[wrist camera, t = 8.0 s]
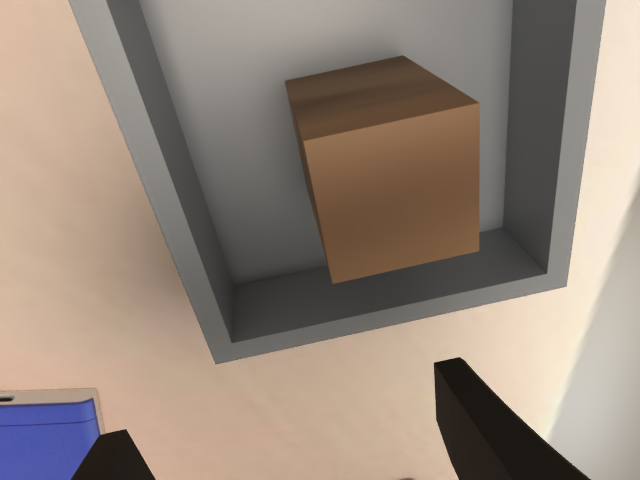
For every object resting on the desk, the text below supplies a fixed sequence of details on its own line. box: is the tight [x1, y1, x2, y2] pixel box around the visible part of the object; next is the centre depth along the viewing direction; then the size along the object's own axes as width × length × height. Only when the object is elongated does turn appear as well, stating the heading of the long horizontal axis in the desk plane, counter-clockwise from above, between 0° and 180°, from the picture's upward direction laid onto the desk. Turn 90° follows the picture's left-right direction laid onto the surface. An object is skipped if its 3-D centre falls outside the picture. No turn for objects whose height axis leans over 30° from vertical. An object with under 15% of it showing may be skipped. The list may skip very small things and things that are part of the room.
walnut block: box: [285, 55, 480, 284], centre depth 14 cm, size 4×4×6 cm
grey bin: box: [68, 0, 606, 364], centre depth 15 cm, size 13×13×4 cm
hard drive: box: [0, 388, 105, 480], centre depth 24 cm, size 2×8×12 cm
